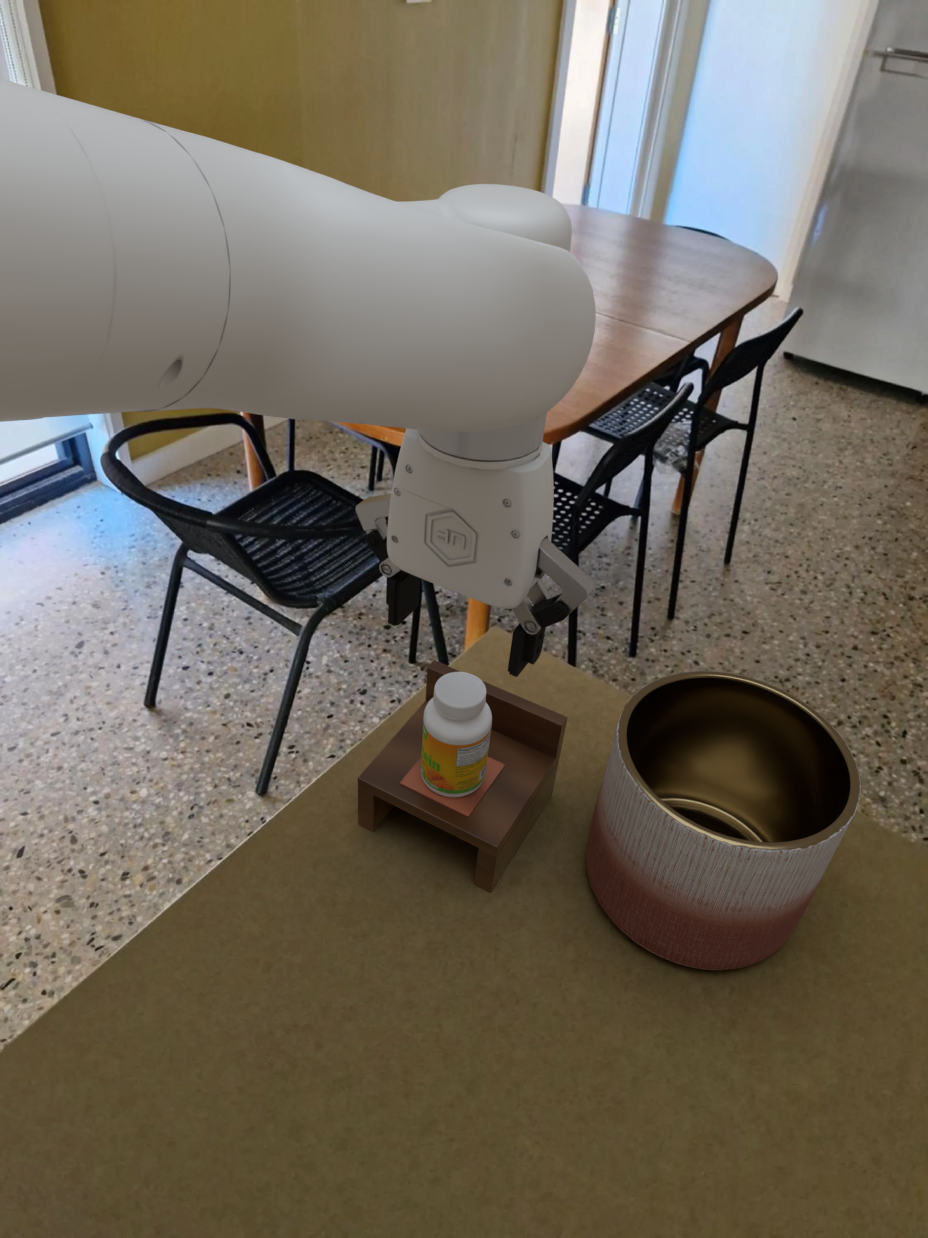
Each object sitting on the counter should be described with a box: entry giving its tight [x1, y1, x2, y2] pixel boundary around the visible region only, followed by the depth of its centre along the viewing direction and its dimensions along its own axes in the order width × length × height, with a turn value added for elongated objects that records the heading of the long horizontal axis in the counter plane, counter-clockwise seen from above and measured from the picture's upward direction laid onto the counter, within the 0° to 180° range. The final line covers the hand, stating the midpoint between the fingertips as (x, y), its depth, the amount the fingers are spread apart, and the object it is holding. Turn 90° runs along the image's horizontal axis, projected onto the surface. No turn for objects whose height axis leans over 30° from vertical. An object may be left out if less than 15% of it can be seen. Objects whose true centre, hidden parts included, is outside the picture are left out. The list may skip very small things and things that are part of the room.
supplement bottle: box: [421, 671, 492, 797], centre depth 70 cm, size 5×5×10 cm
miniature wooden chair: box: [357, 659, 569, 893], centre depth 75 cm, size 12×13×10 cm
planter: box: [585, 670, 862, 971], centre depth 69 cm, size 18×18×16 cm
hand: (460, 639), depth 63 cm, fingers open, 9 cm apart
